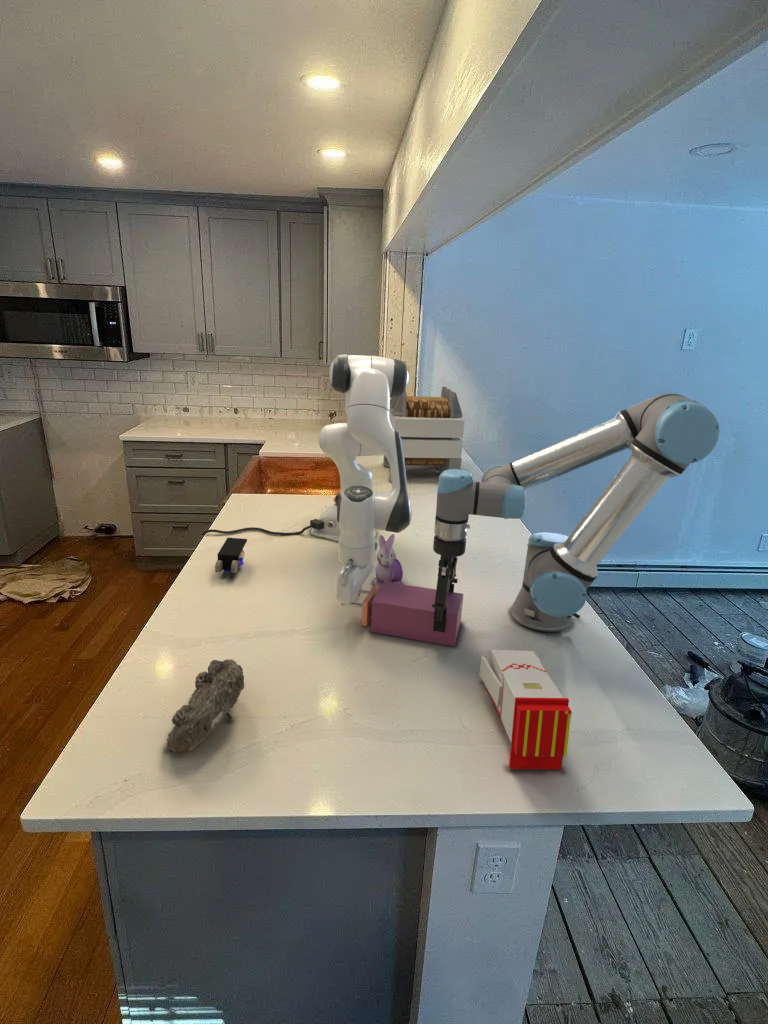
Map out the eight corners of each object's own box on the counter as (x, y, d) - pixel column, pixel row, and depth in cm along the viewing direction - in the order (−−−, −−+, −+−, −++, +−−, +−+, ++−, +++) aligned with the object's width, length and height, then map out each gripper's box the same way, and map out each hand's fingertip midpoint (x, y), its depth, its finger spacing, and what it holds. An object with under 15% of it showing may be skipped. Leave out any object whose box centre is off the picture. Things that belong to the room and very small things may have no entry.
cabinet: (370, 631, 139) (372, 601, 136) (382, 609, 149) (384, 581, 146) (454, 646, 134) (457, 615, 131) (460, 622, 145) (463, 593, 142)
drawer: (339, 621, 141) (339, 598, 139) (351, 602, 150) (351, 580, 148) (439, 638, 135) (441, 615, 133) (445, 618, 145) (447, 595, 142)
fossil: (192, 660, 117) (244, 628, 112) (224, 691, 120) (276, 661, 115) (142, 746, 98) (202, 712, 93) (182, 779, 101) (242, 748, 96)
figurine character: (238, 584, 162) (249, 557, 175) (236, 562, 158) (247, 536, 172) (215, 584, 161) (227, 556, 175) (212, 561, 158) (225, 535, 171)
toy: (530, 632, 124) (581, 706, 94) (525, 688, 126) (573, 777, 97) (475, 631, 123) (509, 705, 94) (471, 687, 126) (503, 777, 96)
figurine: (381, 594, 157) (383, 544, 152) (365, 579, 165) (367, 531, 160) (411, 588, 161) (414, 539, 156) (393, 573, 169) (396, 527, 164)
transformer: (382, 463, 289) (386, 382, 275) (445, 464, 293) (451, 384, 279) (390, 482, 257) (394, 392, 243) (460, 483, 261) (468, 394, 247)
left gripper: (356, 571, 129) (354, 624, 134) (379, 539, 148) (377, 586, 152) (330, 567, 131) (329, 620, 135) (356, 536, 149) (355, 583, 154)
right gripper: (459, 558, 120) (451, 646, 127) (472, 521, 142) (464, 598, 149) (424, 553, 122) (418, 641, 129) (442, 517, 143) (436, 594, 151)
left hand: (355, 602), depth 144 cm, fingers closed
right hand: (443, 618), depth 139 cm, fingers closed on cabinet, 11 cm apart
